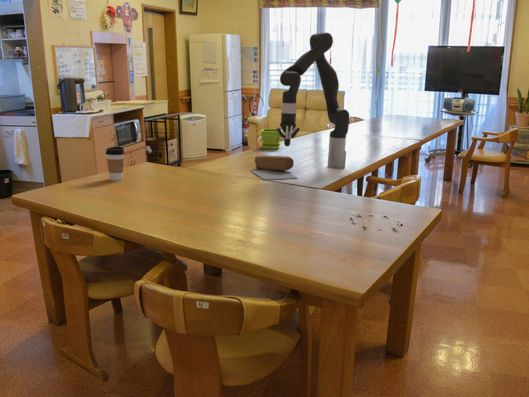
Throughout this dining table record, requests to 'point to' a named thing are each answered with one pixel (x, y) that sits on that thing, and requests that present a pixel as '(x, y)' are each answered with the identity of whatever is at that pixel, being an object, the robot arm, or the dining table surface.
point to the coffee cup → (115, 162)
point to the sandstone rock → (274, 162)
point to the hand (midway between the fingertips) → (287, 146)
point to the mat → (273, 174)
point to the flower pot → (270, 138)
